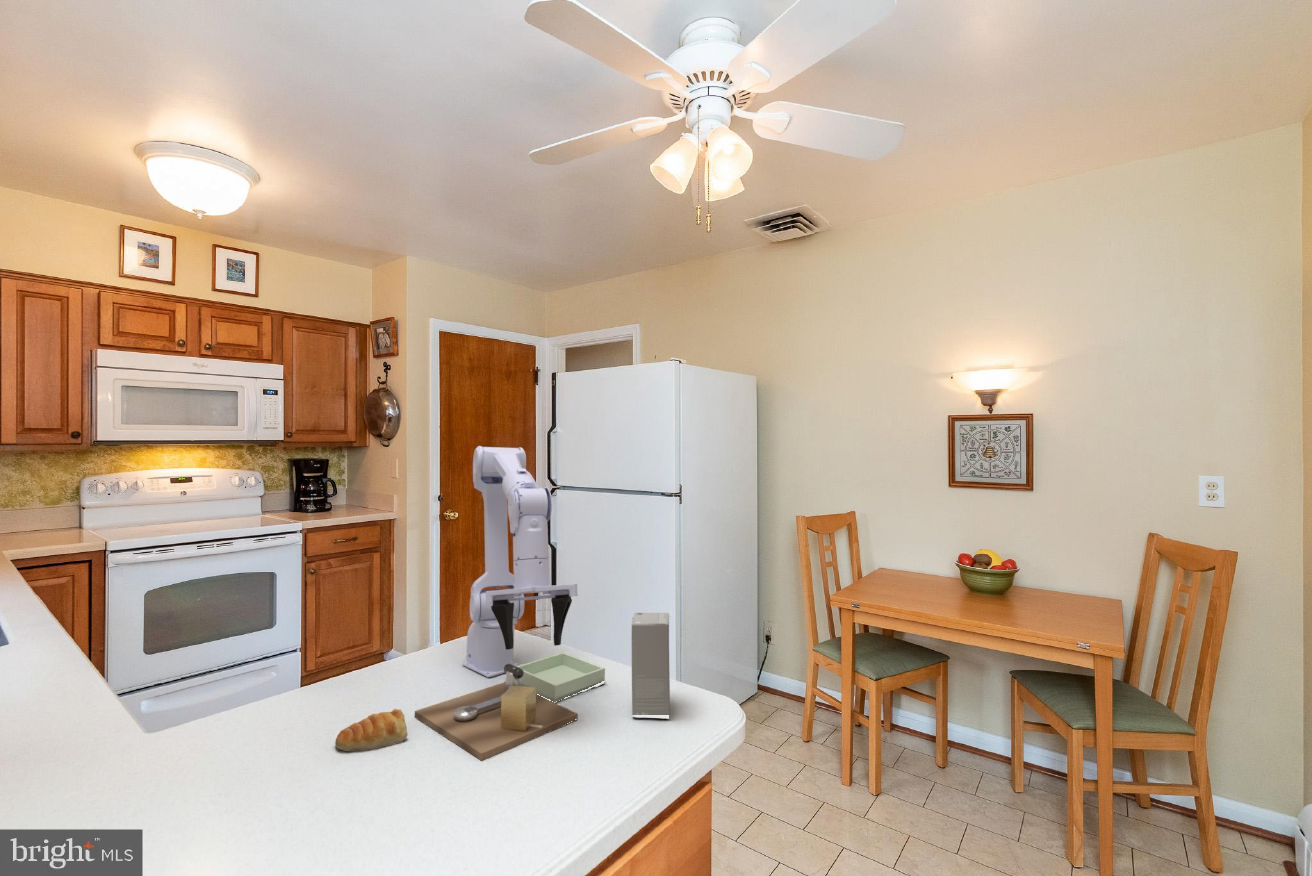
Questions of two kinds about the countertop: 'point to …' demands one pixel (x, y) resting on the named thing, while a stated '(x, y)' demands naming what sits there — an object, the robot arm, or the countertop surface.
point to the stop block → (518, 708)
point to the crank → (471, 712)
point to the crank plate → (490, 722)
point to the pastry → (373, 732)
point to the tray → (560, 676)
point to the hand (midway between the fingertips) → (533, 647)
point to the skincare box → (650, 664)
